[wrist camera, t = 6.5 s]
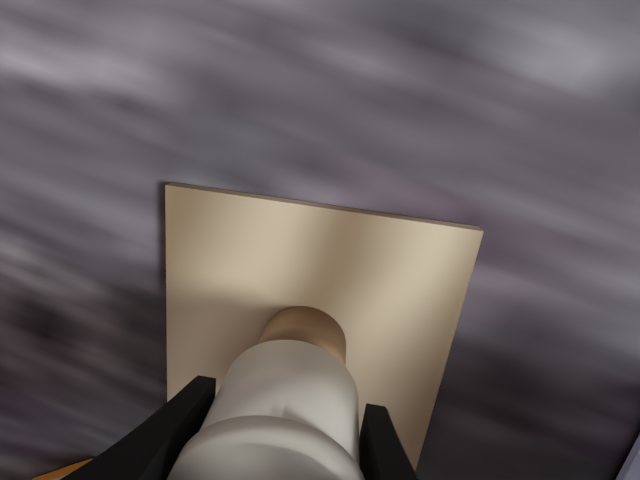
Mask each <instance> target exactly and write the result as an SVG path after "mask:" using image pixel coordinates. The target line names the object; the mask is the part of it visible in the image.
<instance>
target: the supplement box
mask: <svg viewBox="0 0 640 480" xmlns="http://www.w3.org/2000/svg"><path fill="white" fill-rule="evenodd" d="M92 459H93V458H91V459H88V460H85V461H82V462H79V463H75V464H73V465H69V466H67V467H64V468H61V469H59V470H56V471H53V472H50V473H47V474H44V475H41V476H38V477H35V478H33V479H32V480H59V479H61V478H63V477H65V476H66V475H68V474H70V473H71V472H73V471H75V470H76V469H78V468H80V467H81V466H83V465H84V464H86V463H88V462H89V461H91V460H92Z"/></svg>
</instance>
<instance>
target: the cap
mask: <svg viewBox="0 0 640 480" xmlns="http://www.w3.org/2000/svg"><path fill="white" fill-rule="evenodd" d="M167 480H365V478H364V475H363V473H362V471H361V469H360V459H359V405H358V391H357V387H356V384H355V381H354V379H353V377H352V375H351V374H350V372H349V371H348V369H347V368H346V367H345V366H344V364H343V363H342V362H341V361H340V360H338V359H337V358H336V357H335V356H334V355H332V354H331V353H329V352H328V351H326V350H324V349H322V348H320V347H318V346H316V345H313V344H310V343H307V342H302V341H297V340H272V341H267V342H263V343H260V344H258V345H255V346H253V347H251V348H249V349H247V350H246V351H245V352H243V353H242V354H241V355H240V356H238V357H237V358H236V359H235V361H234V362H233V363H232V365H231V366H230V368H229V370H228V372H227V374H226V376H225V378H224V380H223V382H222V384H221V386H220V388H219V391H218V393H217V395H216V397H215V399H214V401H213V403H212V405H211V407H210V409H209V411H208V414H207V416H206V418H205V420H204V422H203V424H202V426H201V428H200V430H199V432H198V433H196V434H195V435H194V436H193V437H192V438H191V439H190V440H189V441H188V442H187V443H186V445H185V446H184V447H183V448H182V450H181V452H180V454H179V456H178V458H177V460H176V462H175V464H174V466H173V468H172V470H171V472H170V474H169V476H168V478H167Z"/></svg>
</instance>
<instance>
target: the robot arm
mask: <svg viewBox="0 0 640 480" xmlns="http://www.w3.org/2000/svg"><path fill="white" fill-rule="evenodd" d="M215 394H216V378H212V377H206V376H200V375H198V376H196V377H195V378H194V379H193V380H192V381H190V382H189V383H188V384H187V385H186V386H185V387H184V388H183V389H182V390H181V391H179V392H178V393H177V394H176V395H175V396H174V397H173V398H172V399H170V400H169V401H168V402H167V403H166V404H165V405H164V406H162V407H161V408H160V409H159V410H158V411H156V412H155V413H154V414H153V415H152V416H150V417H149V418H148V419H147V420H146V421H144V422H143V423H142V424H141V425H139V426H138V427H137V428H135V429H134V430H133V431H131V432H130V433H129V434H127V435H126V436H125V437H124V438H122V439H121V440H120V441H118V442H117V443H115V444H114V445H113V446H111V447H110V448H108V449H107V450H106V451H104V452H103V453H101V454H100V455H98V456H97V457H95V458H94V459H92V460H91V461H89V462H88V463H86V464H84V465H83V466H81V467H80V468H78V469H76V470H75V471H73V472H71V473H70V474H68V475H66V476H65V477H63V478H61V479H59V480H167V478H168V476H169V474H170V472H171V470H172V468H173V466H174V464H175V462H176V460H177V458H178V456H179V454H180V452H181V450H182V448H183V447H184V446H185V445H186V443H187V442H188V441H189V440H190V439H191V438H192V437H193V436H194V435H195V434H196V433H198V432H199V430H200V428H201V426H202V424H203V422H204V420H205V418H206V416H207V414H208V411H209V409H210V407H211V405H212V403H213V401H214V399H215ZM359 459H360V469H361V471H362V473H363V475H364V478H365V480H419V478H418V476H417V474H416V472H415V470H414V468H413V466H412V464H411V462H410V460H409V458H408V456H407V454H406V452H405V450H404V448H403V446H402V444H401V441H400V439H399V437H398V435H397V432H396V430H395V428H394V425H393V423H392V420H391V417H390V415H389V412H388V410H387V408H386V407H385V406H380V405H374V404H368V403H366V407H365V412H364V416H363V421H362V426H361V431H360V436H359ZM616 480H640V434H639V436H638V438H637V440H636V442H635V444H634V445H633V447H632V449H631V451H630V453H629V455H628V457H627V459H626V461H625V463H624V464H623V466H622V468H621V470H620V472H619V474H618V476H617V478H616Z"/></svg>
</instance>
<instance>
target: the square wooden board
mask: <svg viewBox="0 0 640 480" xmlns="http://www.w3.org/2000/svg"><path fill="white" fill-rule="evenodd" d="M165 214H166V320H167V402H168V401H169V400H170V399H172V398H173V397H174V396H175V395H176V394H177V393H178V392H179V391H181V390H182V389H183V388H184V387H185V386H186V385H187V384H188V383H189V382H190V381H192V380H193V379H194V378H195V377H196V376H198V375H200V376H206V377H212V378H216V394H215V397H216V395H217V393H218V391H219V388H220V386H221V384H222V382H223V380H224V378H225V376H226V374H227V372H228V370H229V368H230V366H231V365H232V363H233V362H234V361H235V359H236V358H237V357H238V356H240V355H241V354H242V353H243V352H245V351H246V350H247V349H249V348H251V347H253V346H255V345H258V344H260V343H263V342H267V341H272V340H297V341H302V342H307V343H310V344H313V345H316V346H318V347H320V348H322V349H324V350H326V351H328V352H329V353H331V354H332V355H334V356H335V357H336V358H337V359H338V360H340V361H341V362H342V363H343V364H344V366H345V367H346V368H347V369H348V371H349V372H350V374H351V375H352V377H353V379H354V381H355V384H356V387H357V391H358V405H359V436H360V431H361V426H362V421H363V416H364V412H365V407H366V403H368V404H374V405H380V406H385V407H386V408H387V410H388V412H389V415H390V417H391V420H392V423H393V425H394V428H395V430H396V432H397V435H398V437H399V439H400V441H401V444H402V446H403V448H404V450H405V452H406V454H407V456H408V458H409V460H410V462H411V464H412V466H413V468H414V470H415V471H416V468H417V464H418V461H419V457H420V454H421V450H422V447H423V443H424V439H425V436H426V432H427V429H428V425H429V422H430V418H431V415H432V411H433V408H434V404H435V401H436V397H437V394H438V390H439V387H440V383H441V380H442V376H443V373H444V369H445V366H446V362H447V359H448V355H449V352H450V348H451V344H452V341H453V337H454V334H455V330H456V327H457V323H458V320H459V316H460V313H461V309H462V306H463V302H464V299H465V295H466V292H467V288H468V285H469V281H470V278H471V274H472V271H473V267H474V264H475V260H476V257H477V253H478V249H479V246H480V242H481V239H482V235H483V232H484V231H483V230H482V229H481V228H480V227H478V226H472V225H465V224H458V223H451V222H444V221H437V220H430V219H423V218H416V217H410V216H403V215H396V214H389V213H382V212H375V211H368V210H361V209H354V208H347V207H341V206H334V205H327V204H320V203H313V202H306V201H299V200H292V199H285V198H278V197H272V196H265V195H258V194H251V193H244V192H237V191H230V190H223V189H216V188H210V187H203V186H196V185H189V184H182V183H175V182H171V183H169V184H166V185H165Z"/></svg>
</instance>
